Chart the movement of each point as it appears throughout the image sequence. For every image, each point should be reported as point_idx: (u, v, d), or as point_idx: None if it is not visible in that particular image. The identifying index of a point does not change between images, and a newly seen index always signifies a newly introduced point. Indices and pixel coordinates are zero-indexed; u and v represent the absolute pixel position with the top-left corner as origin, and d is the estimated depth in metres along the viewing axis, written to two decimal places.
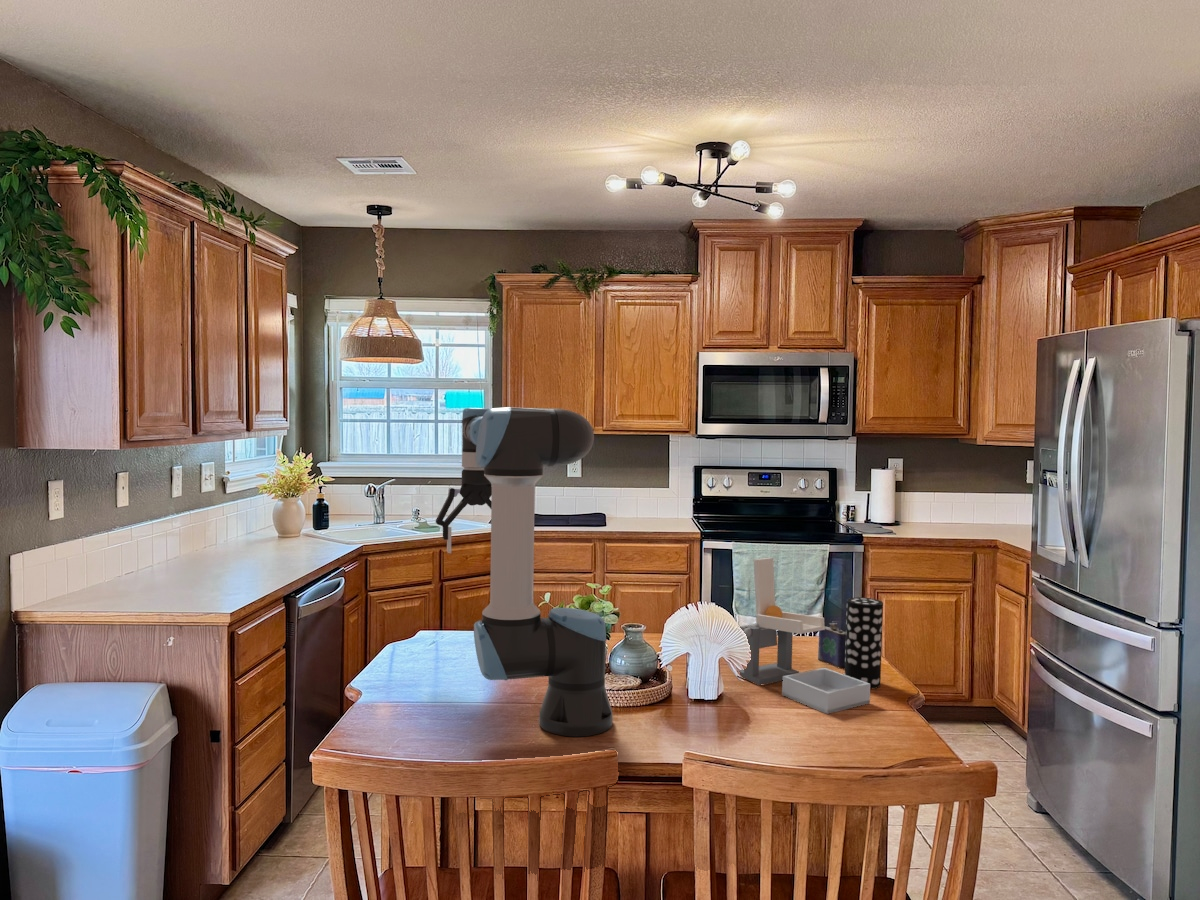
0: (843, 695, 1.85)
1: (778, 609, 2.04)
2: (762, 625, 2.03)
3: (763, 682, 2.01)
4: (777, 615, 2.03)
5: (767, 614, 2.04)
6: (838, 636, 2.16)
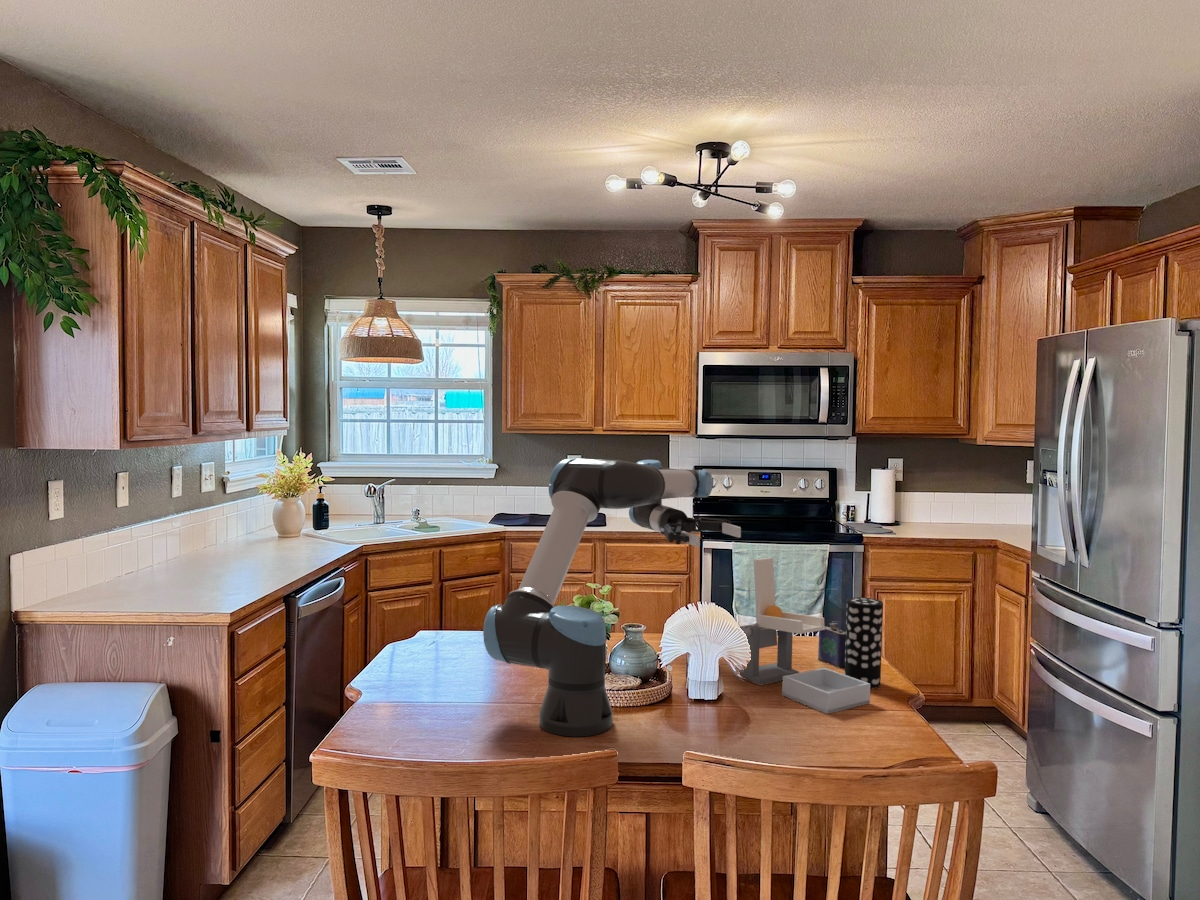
0: (843, 695, 1.85)
1: (778, 609, 2.04)
2: (762, 625, 2.03)
3: (763, 682, 2.01)
4: (777, 615, 2.03)
5: (767, 614, 2.04)
6: (838, 636, 2.16)
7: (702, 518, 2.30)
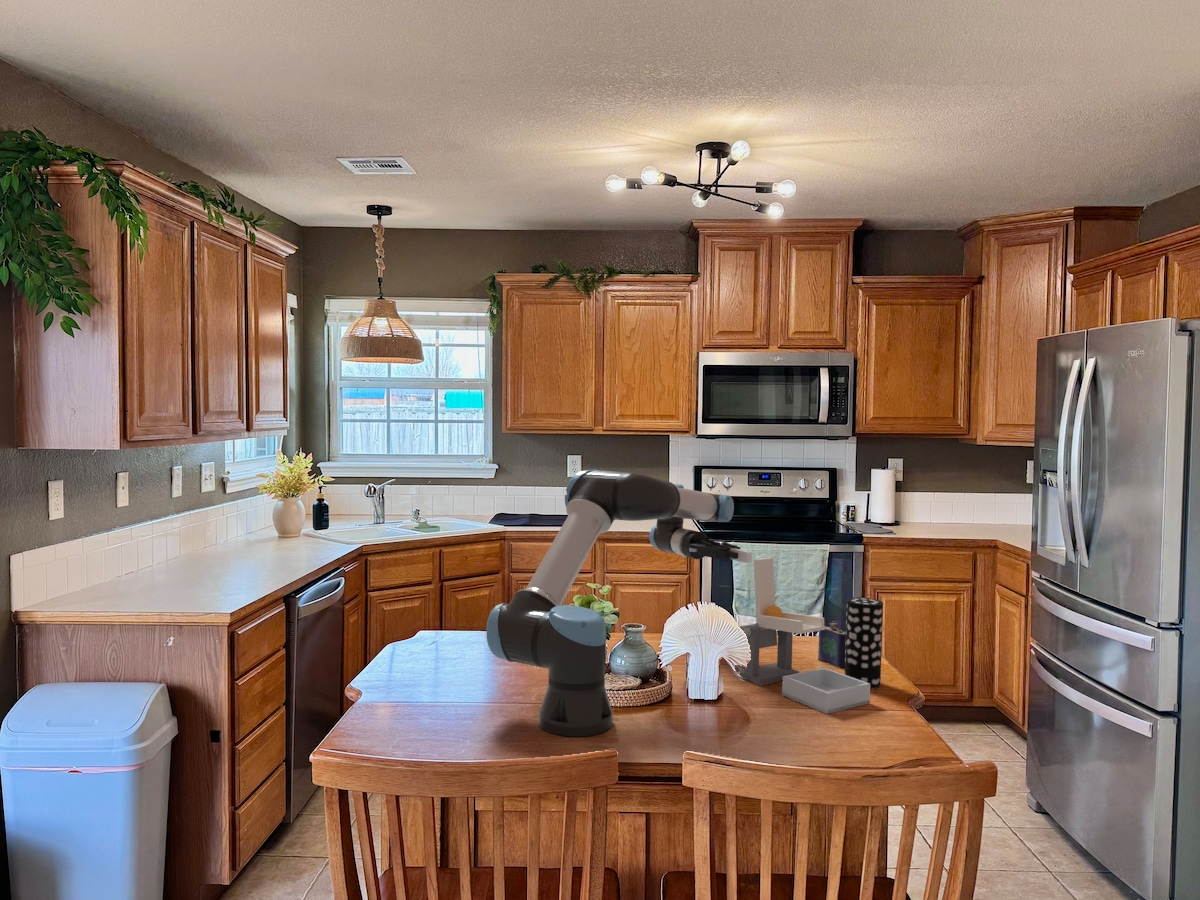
0: (843, 695, 1.85)
1: (778, 609, 2.04)
2: (762, 625, 2.03)
3: (763, 682, 2.01)
4: (777, 615, 2.03)
5: (767, 614, 2.04)
6: (838, 636, 2.16)
7: (723, 543, 2.28)
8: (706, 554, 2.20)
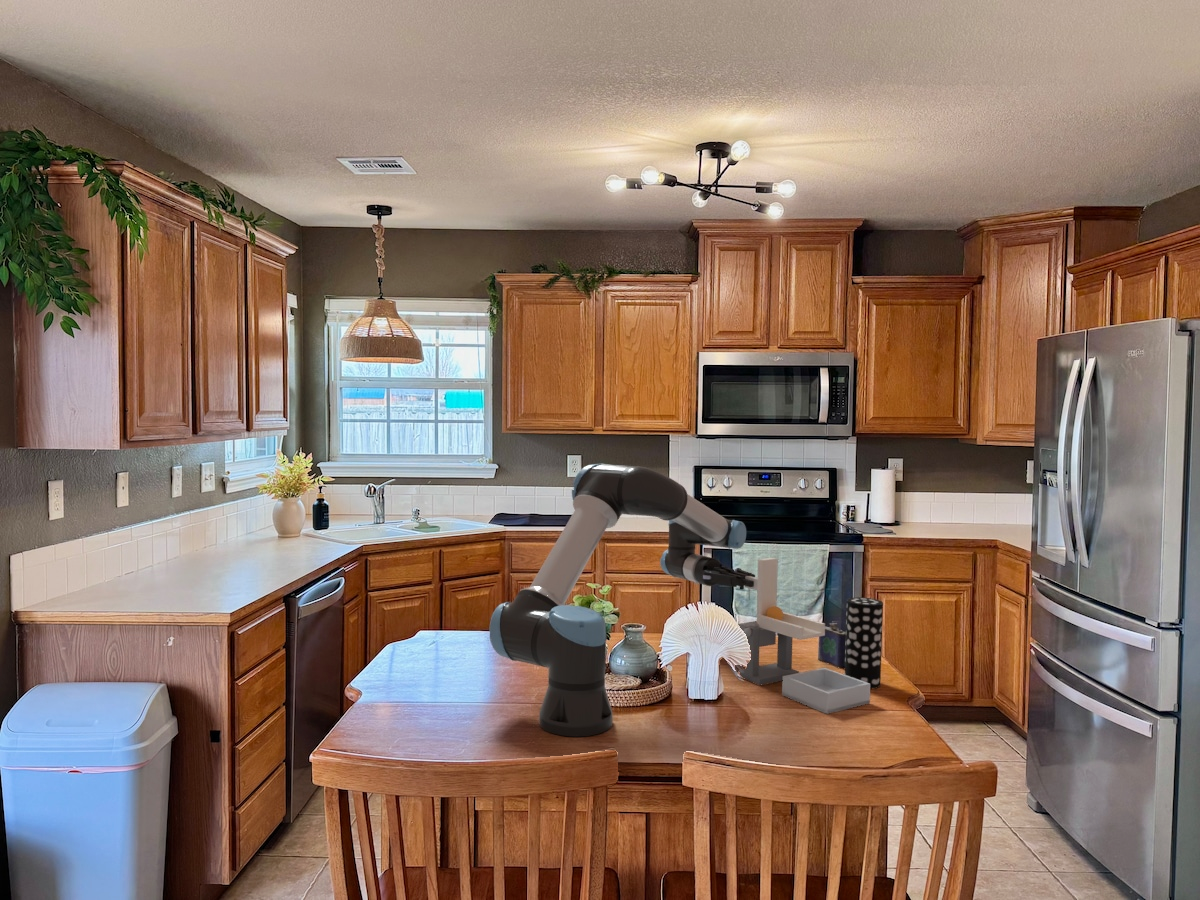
0: (843, 695, 1.85)
1: (779, 611, 2.04)
2: (762, 626, 2.03)
3: (763, 682, 2.01)
4: (778, 617, 2.03)
5: (768, 615, 2.04)
6: (838, 636, 2.16)
7: (737, 569, 2.23)
8: (720, 582, 2.15)
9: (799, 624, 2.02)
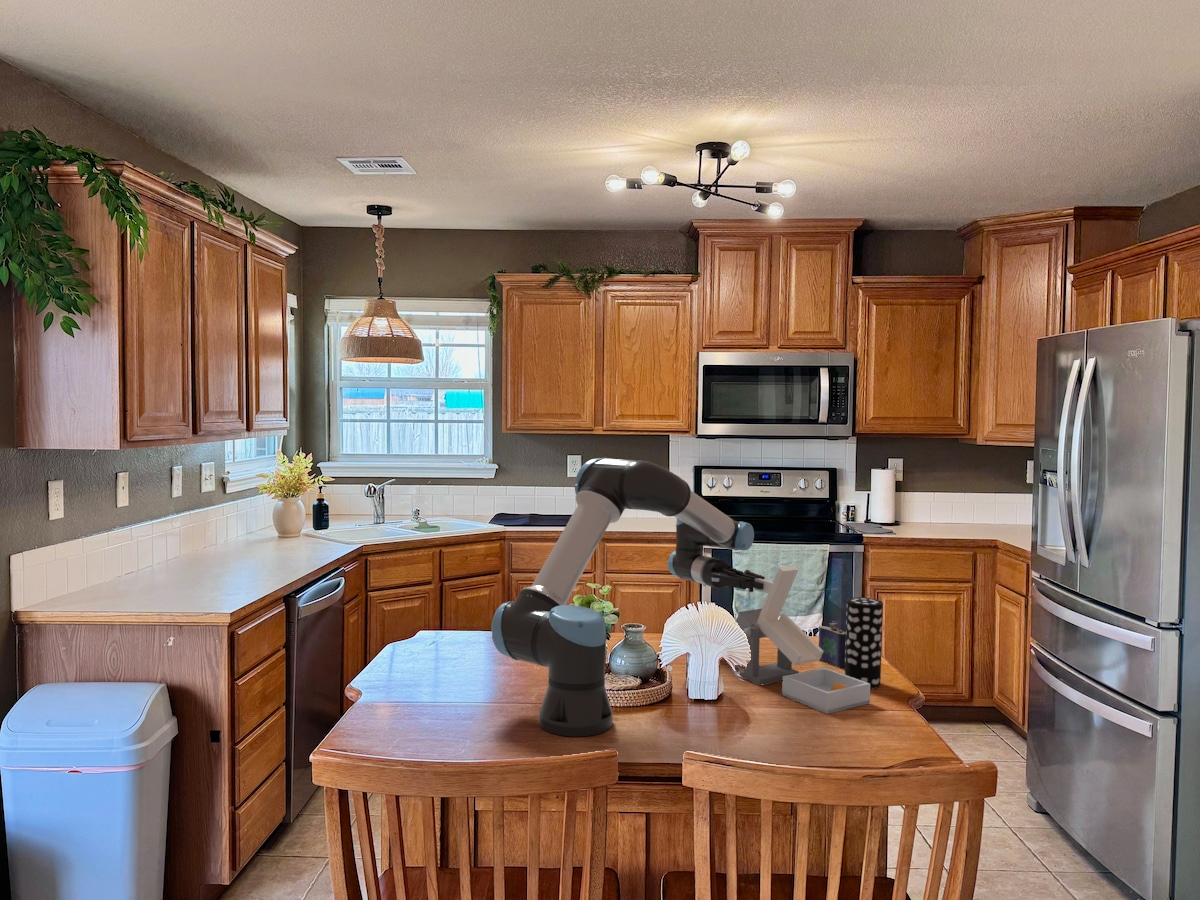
0: (843, 695, 1.85)
1: (838, 683, 1.88)
2: (762, 629, 2.03)
3: (763, 682, 2.01)
4: (840, 686, 1.87)
5: None
6: (838, 636, 2.15)
7: (746, 571, 2.20)
8: (730, 584, 2.12)
9: (798, 637, 2.02)
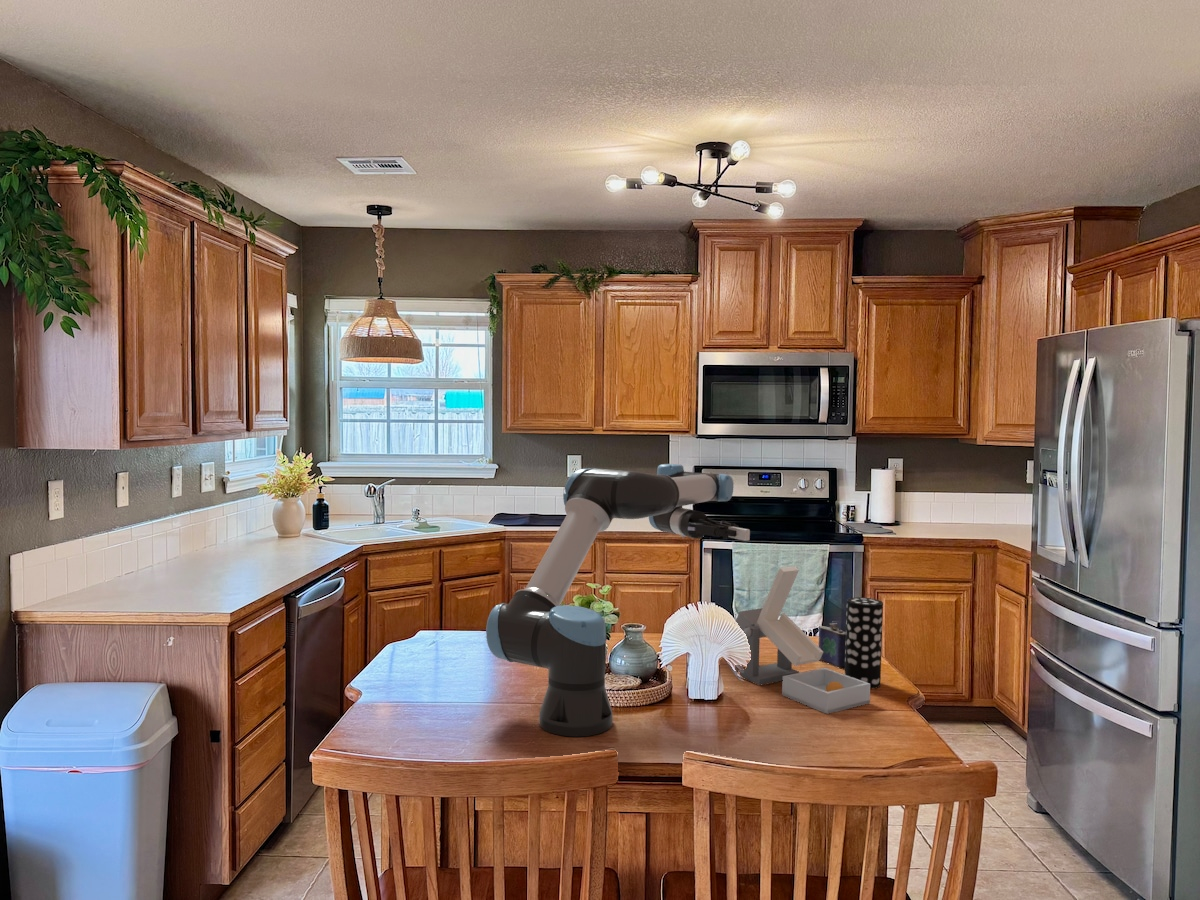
0: (843, 695, 1.85)
1: None
2: (762, 630, 2.03)
3: (763, 682, 2.01)
4: (832, 682, 1.89)
5: None
6: (838, 636, 2.15)
7: (722, 522, 2.27)
8: (704, 532, 2.20)
9: (798, 638, 2.03)
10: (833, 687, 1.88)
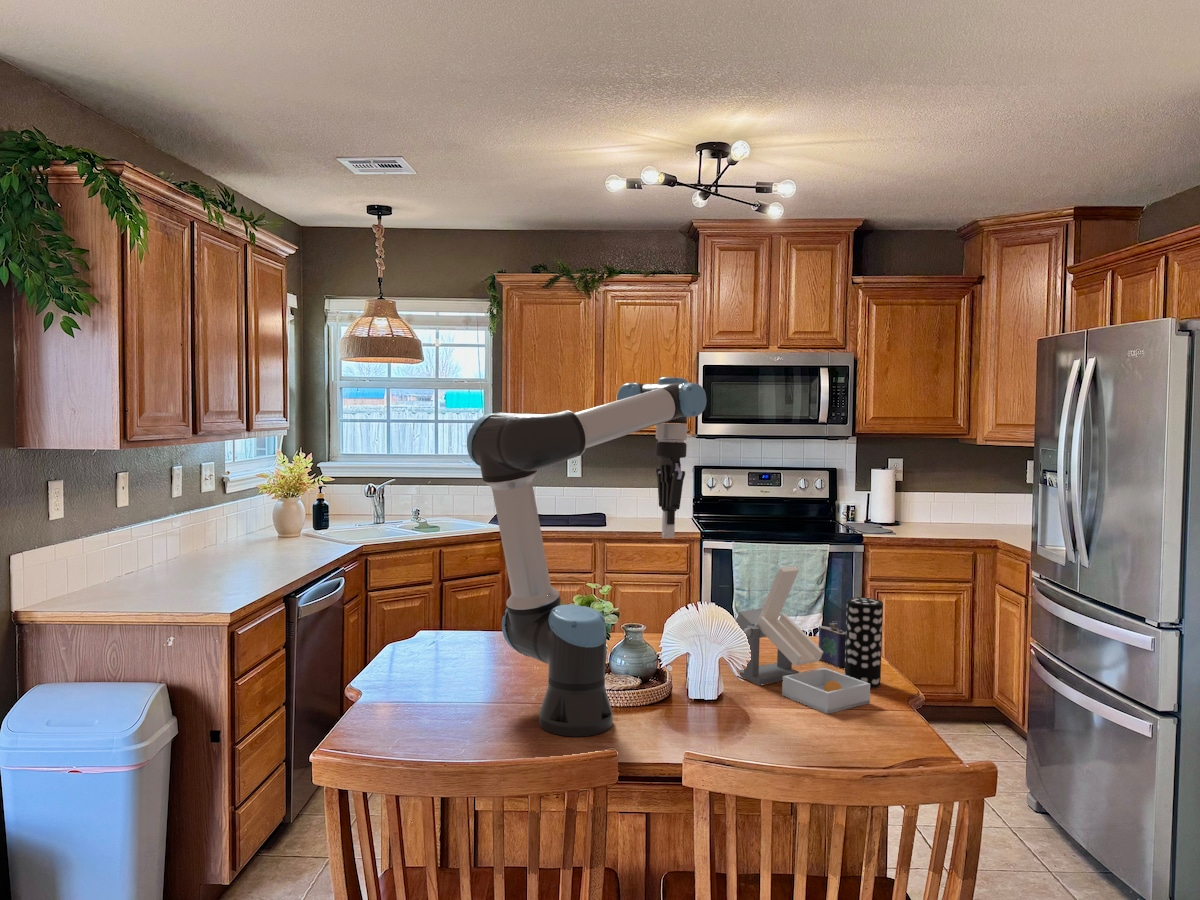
0: (843, 695, 1.85)
1: None
2: (762, 630, 2.03)
3: (763, 682, 2.01)
4: (828, 682, 1.90)
5: None
6: (838, 636, 2.16)
7: (672, 477, 2.01)
8: None
9: (798, 638, 2.03)
10: (830, 685, 1.88)
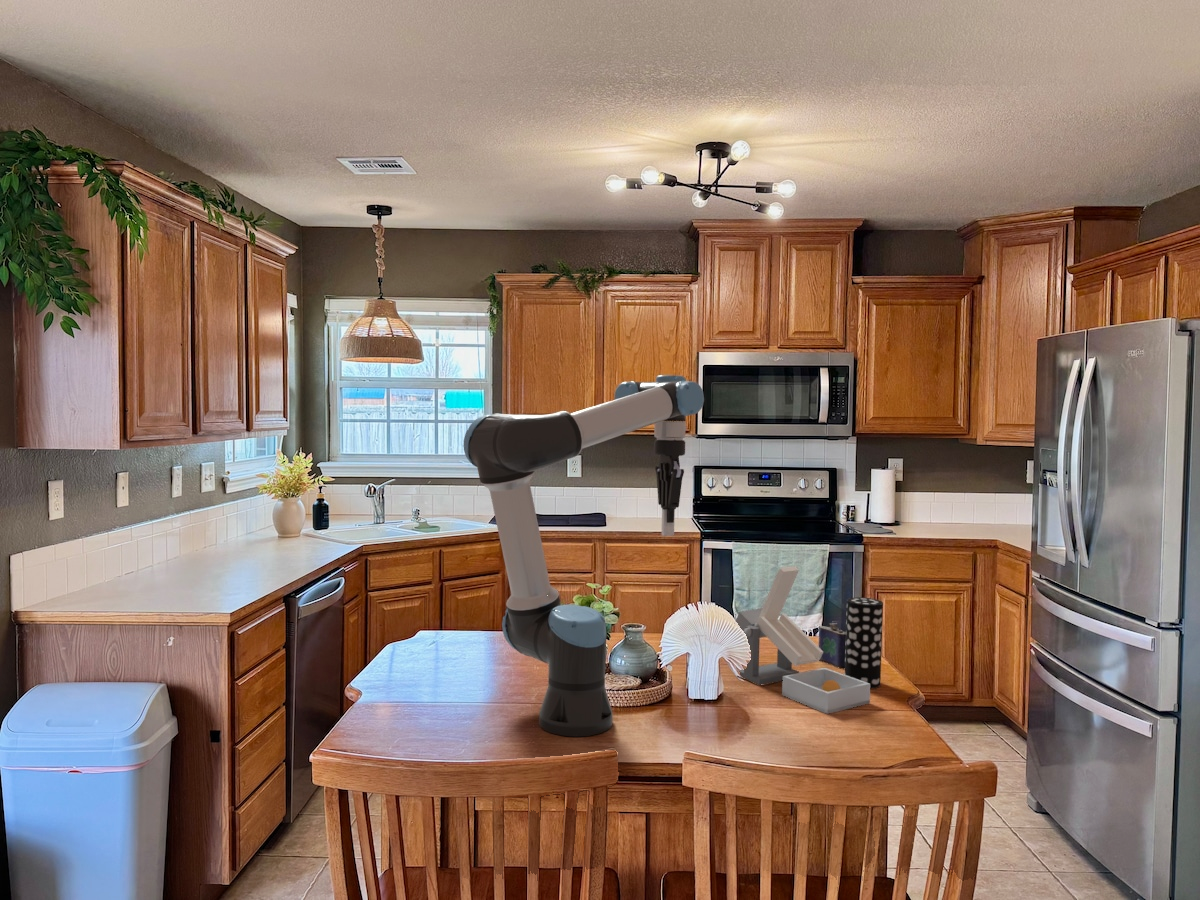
0: (843, 695, 1.85)
1: None
2: (762, 630, 2.03)
3: (763, 682, 2.01)
4: None
5: None
6: (838, 636, 2.15)
7: (671, 475, 2.01)
8: None
9: (798, 638, 2.03)
10: (826, 684, 1.89)
